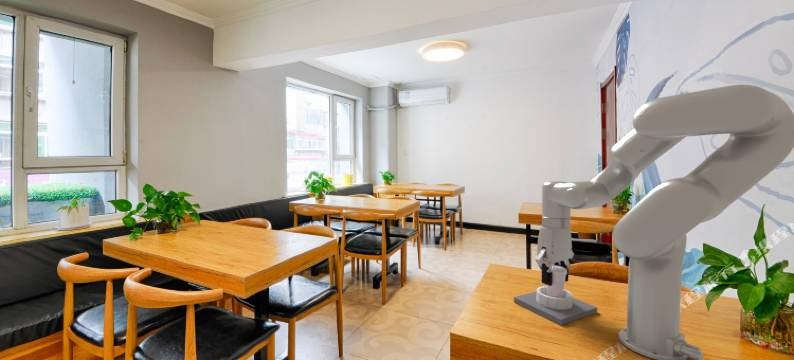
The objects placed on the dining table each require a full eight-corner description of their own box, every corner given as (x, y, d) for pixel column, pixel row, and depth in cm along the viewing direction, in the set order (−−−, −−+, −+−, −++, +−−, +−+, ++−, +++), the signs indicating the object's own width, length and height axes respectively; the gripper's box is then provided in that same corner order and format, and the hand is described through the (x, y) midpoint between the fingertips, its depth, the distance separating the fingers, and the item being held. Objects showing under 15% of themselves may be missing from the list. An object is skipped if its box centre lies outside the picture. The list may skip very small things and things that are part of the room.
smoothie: (553, 294, 97) (554, 250, 97) (571, 302, 91) (572, 255, 91) (538, 297, 95) (538, 252, 95) (555, 306, 89) (556, 258, 89)
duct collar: (597, 312, 90) (597, 297, 90) (560, 325, 83) (561, 308, 83) (548, 292, 104) (548, 279, 104) (513, 301, 97) (514, 287, 97)
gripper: (563, 218, 100) (562, 273, 100) (524, 223, 92) (524, 283, 93) (586, 222, 93) (585, 281, 94) (547, 227, 85) (546, 292, 86)
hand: (555, 281), depth 93 cm, fingers closed on smoothie, 6 cm apart
